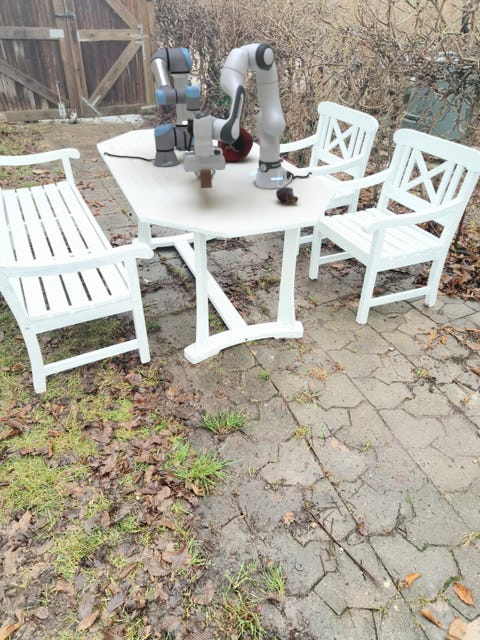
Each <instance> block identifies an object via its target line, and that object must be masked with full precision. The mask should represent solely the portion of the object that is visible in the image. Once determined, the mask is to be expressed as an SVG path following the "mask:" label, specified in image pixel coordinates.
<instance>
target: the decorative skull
mask: <svg viewBox="0 0 480 640" xmlns="http://www.w3.org/2000/svg"><path fill="white" fill-rule="evenodd" d="M253 146H254V138H253V137H252V135H251V134H250V132H249V131H248V130H246V129H245V128H244V127H241V126H240V134H239V137H238V139H237V140H236V141H235V142H234V143H232V144H228V143H225V142H222V141H217V147H220V148H221V149H222V151H223V154H222V155H223V156H224V159H225V162H227V161H228V162H238V161H242V160H244V159H245V158H248V156H249V155H250V152H251V151H252V148H253Z"/></svg>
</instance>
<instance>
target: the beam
mask: <svg viewBox="0 0 480 640" xmlns="http://www.w3.org/2000/svg"><path fill="white" fill-rule="evenodd" d="M191 151H195V150H194V147H191ZM197 175H198V176H200V180H197V181H198V183H199V186H200V189H212V188H213V179H212V176H211V175H212V170H205V171H197Z"/></svg>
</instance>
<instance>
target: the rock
mask: <svg viewBox="0 0 480 640" xmlns="http://www.w3.org/2000/svg"><path fill="white" fill-rule="evenodd" d="M275 192H276V193H275V195H276V198H277V200H278V202H279V203H280V204H283V205H289V204H292V205H294V204H296V203H298V201H299V197H298V196H297V195H295V194H294V188H292V187H291V186H284V187H283V188H278V189H276V191H275Z"/></svg>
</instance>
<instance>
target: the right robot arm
mask: <svg viewBox="0 0 480 640" xmlns="http://www.w3.org/2000/svg"><path fill="white" fill-rule="evenodd" d="M248 71H254V72H255V85H256V94H257V103H258V104H259V108H260V110H259V111H258V112H257V114H256V117H255V118H256V119H255V122H256V125H257V134H258V141H259V142H258V143H259V158H258V167H257V169H256V171H255V172H251V173H250V174H249V175H250V176H253V175H256V178H255V180H254V184H255V185H256V187H258V188H261V189H272V190H273V189H280V188H283V187H287V185H288V184H289V183H290V182H292V180H294V179H296V178H300V179H306V178H309V176H310V175H313V172H311V171H309V172H308V173H307V175H294V173H293V172H291V171H289V170H287V169H285V168H284V167H283V166H282V163H283V164H284V161H285V160H284V158H280V155H281V143H280V139H279V136H280V135H283V133H284V132H285V130H286V127H287V123H286V120H285V117H284V113H283V108H282V104H281V99H280V88H279V77H278V70H277V66H276V61H275V52H274V50H273V48H272V46H271V45H269V43H268V44H267V43H263V42H262V43H256V42H255V43H254V42H253V43H248V44H240V45H238V46H237V47H235V48H232V49H231V50H230V52H229V54H228V56H227V57H226V60H225V62H224V64H223V68H222V70H221V73H220V76H219V84H220V85H219V86H220V88H221V89H222V90H223V92H224V93H226V94H227V95H228V96H229V97H230V98H231V100H232V101H231V106H230V112H229V117H228V118H226V119H223V118H219V117H215V116H213V115H211V113H210V112H207V111H201V113H198V114H196V115H195V117H194V121H193V133H194V138H195V141H194V150H195V151H187V150H185V151H184V152H183V153H182V155H181V156H182V157H181V158H182V161H183V170H184V172H186V173H191V172H192V173H193V174H194V175H195V177H196V181H198V180H200V176H198V175H197V171H205V170H211V176H212V180H214V176H215V175H216V171H223V170H225V169H226V161H225V159H224V156H223V155H222V154H223V151H222V149H221V148H220V147H218V145H217V146H216V145H214V141H217V142H218V141H222V142H225V143H228V144H232V143H234V142H235V141H236V140H237V139H238V137H239V134H240V127H241V121H242V117H243V111H244V106H245V101H246V89H245V87H244V82H245V78H246V76H247V72H248Z"/></svg>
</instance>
